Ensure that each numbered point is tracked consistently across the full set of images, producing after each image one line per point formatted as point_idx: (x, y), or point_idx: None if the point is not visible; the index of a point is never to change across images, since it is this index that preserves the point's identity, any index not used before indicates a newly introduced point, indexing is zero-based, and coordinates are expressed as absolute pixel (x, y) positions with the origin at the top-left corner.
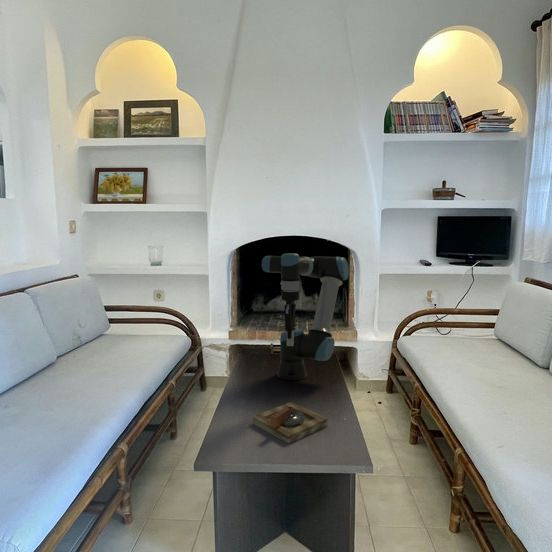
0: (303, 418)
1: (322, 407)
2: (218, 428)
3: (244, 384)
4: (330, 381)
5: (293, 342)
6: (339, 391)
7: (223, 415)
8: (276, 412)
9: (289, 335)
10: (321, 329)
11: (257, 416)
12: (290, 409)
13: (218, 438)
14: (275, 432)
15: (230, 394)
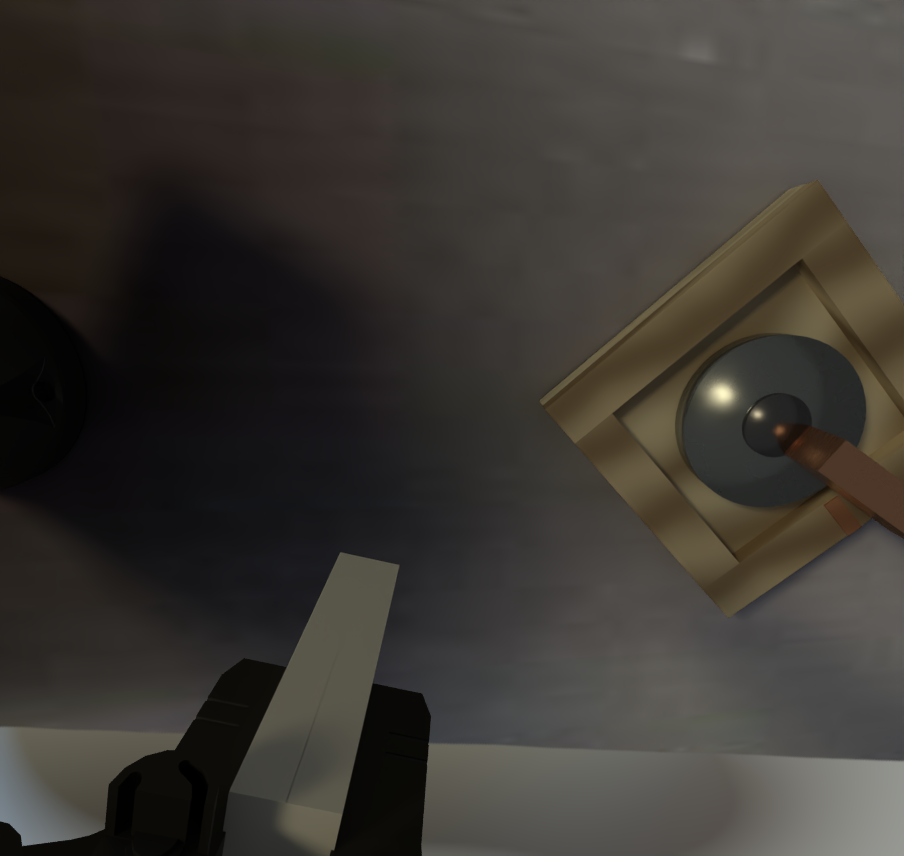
0: (823, 343)
1: (521, 195)
2: (735, 732)
3: (192, 663)
4: (40, 77)
5: (329, 578)
6: (237, 24)
7: (601, 726)
8: (681, 495)
9: (422, 790)
10: None
11: (731, 594)
12: (687, 418)
13: (829, 722)
14: None
15: None
